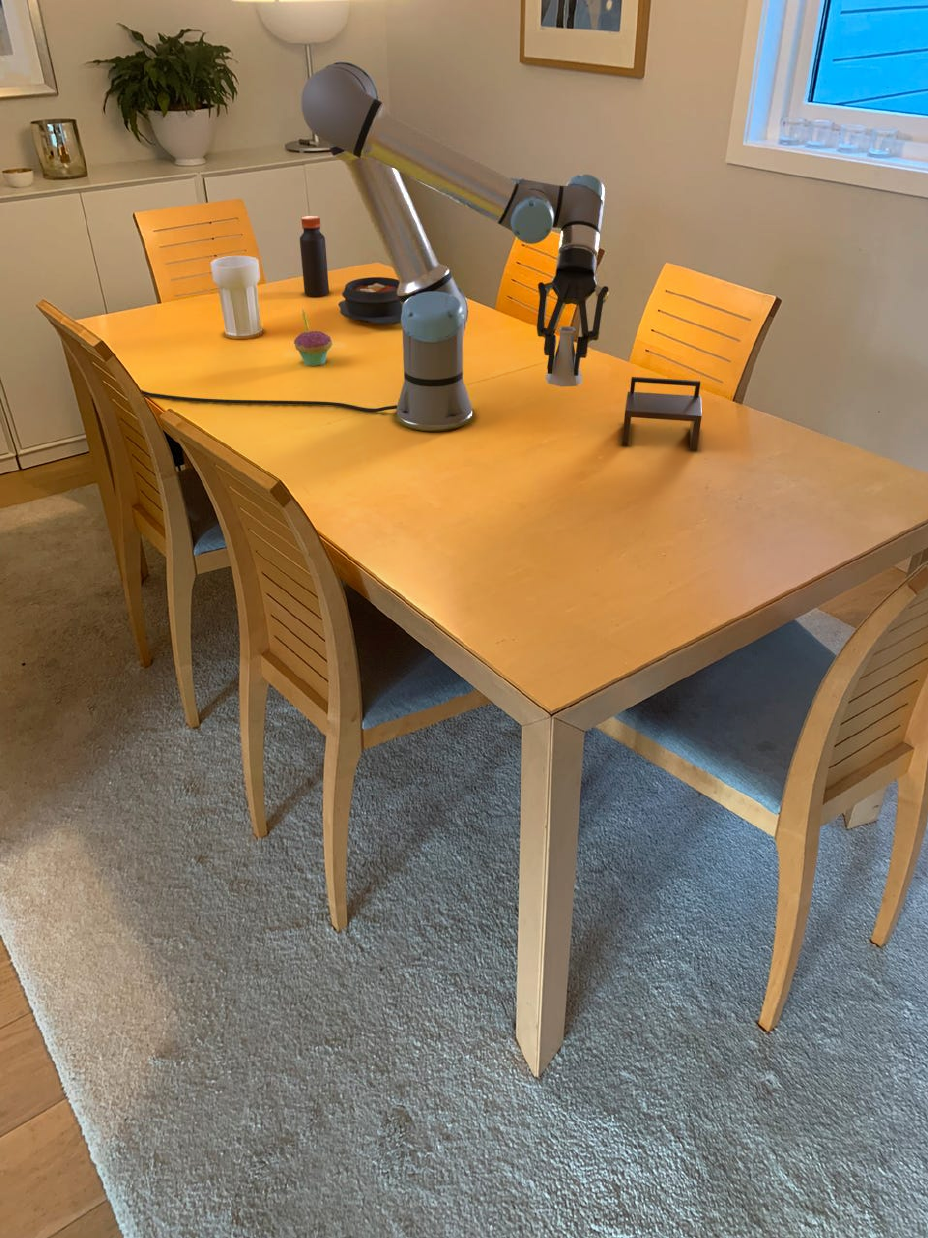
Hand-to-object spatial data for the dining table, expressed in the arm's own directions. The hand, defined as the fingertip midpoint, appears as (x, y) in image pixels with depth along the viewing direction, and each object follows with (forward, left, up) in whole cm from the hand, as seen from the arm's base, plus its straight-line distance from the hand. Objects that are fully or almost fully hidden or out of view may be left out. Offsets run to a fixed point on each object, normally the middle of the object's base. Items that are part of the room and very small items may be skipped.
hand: (562, 371), depth 178 cm
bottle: (-77, +87, -14) cm, 117 cm away
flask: (0, +4, -3) cm, 5 cm away
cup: (-84, +50, -14) cm, 99 cm away
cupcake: (-60, +33, -14) cm, 70 cm away
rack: (+19, +4, -14) cm, 24 cm away
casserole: (-55, +69, -14) cm, 90 cm away
